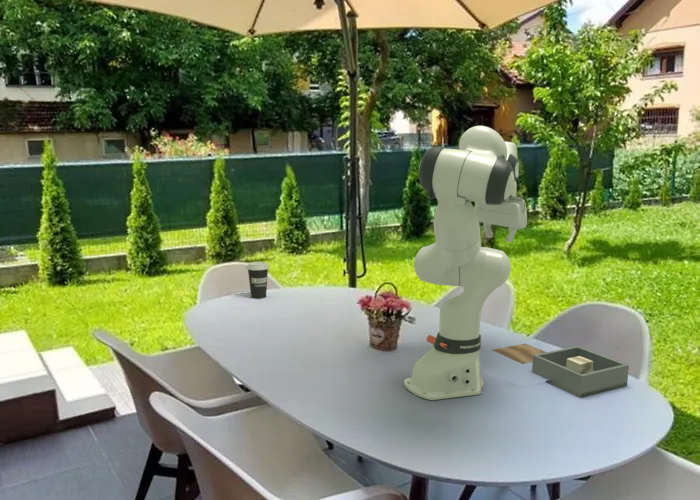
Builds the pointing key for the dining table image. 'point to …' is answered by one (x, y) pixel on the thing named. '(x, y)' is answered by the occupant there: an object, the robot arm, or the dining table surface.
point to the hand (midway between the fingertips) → (499, 239)
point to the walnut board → (520, 352)
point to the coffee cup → (258, 279)
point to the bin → (581, 385)
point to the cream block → (580, 364)
